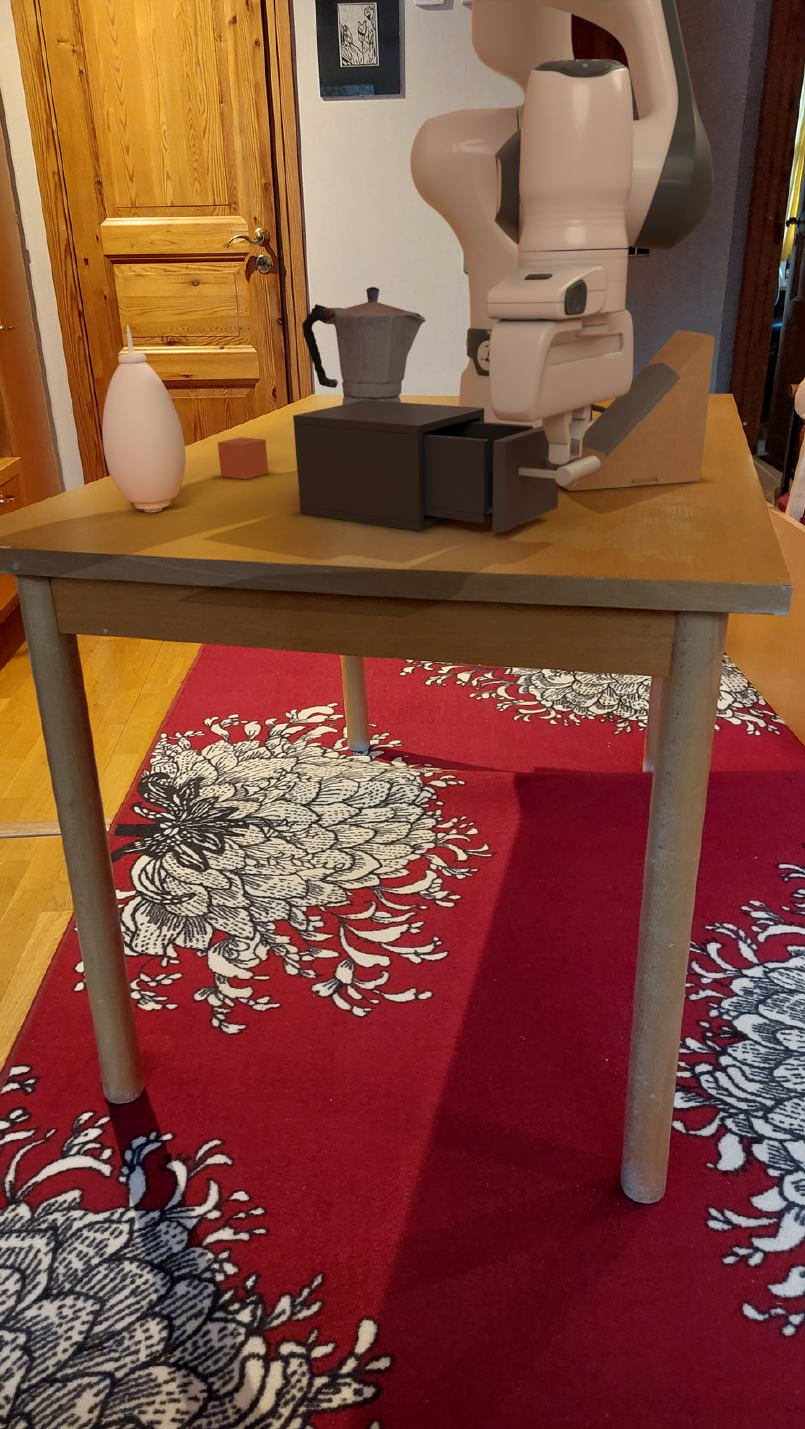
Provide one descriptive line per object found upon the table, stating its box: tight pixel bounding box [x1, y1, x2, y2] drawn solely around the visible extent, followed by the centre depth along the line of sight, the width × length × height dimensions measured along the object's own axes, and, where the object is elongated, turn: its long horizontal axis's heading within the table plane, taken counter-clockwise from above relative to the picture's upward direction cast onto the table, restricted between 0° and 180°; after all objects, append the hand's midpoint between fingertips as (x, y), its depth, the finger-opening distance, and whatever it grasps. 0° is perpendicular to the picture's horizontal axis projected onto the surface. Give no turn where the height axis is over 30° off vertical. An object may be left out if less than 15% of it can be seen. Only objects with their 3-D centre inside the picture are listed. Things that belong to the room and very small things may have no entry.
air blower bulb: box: [101, 324, 187, 513], centre depth 98 cm, size 8×8×18 cm
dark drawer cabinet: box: [292, 400, 484, 532], centre depth 97 cm, size 15×12×10 cm
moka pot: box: [301, 286, 427, 405], centre depth 119 cm, size 10×15×20 cm, turn 78°
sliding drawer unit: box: [422, 421, 601, 533], centre depth 91 cm, size 19×10×8 cm, turn 55°
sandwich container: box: [558, 329, 716, 492], centre depth 106 cm, size 9×15×15 cm, turn 102°
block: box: [217, 436, 269, 480], centre depth 116 cm, size 4×4×4 cm
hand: (564, 461), depth 86 cm, fingers closed, pressing on sliding drawer unit
